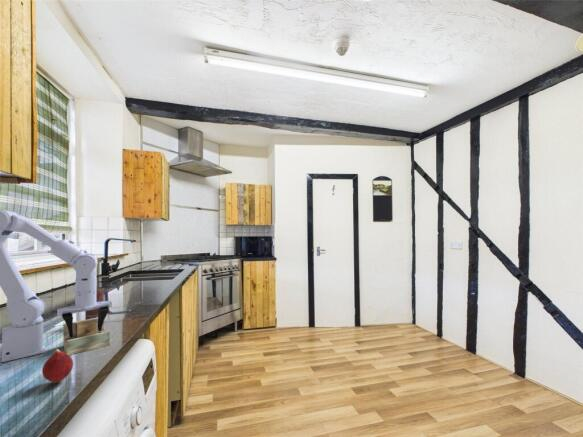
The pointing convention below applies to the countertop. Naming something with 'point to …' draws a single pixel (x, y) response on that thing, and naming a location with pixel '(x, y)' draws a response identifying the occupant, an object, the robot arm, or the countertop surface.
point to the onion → (57, 367)
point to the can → (99, 298)
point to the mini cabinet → (85, 328)
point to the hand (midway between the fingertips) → (85, 333)
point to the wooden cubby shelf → (84, 340)
